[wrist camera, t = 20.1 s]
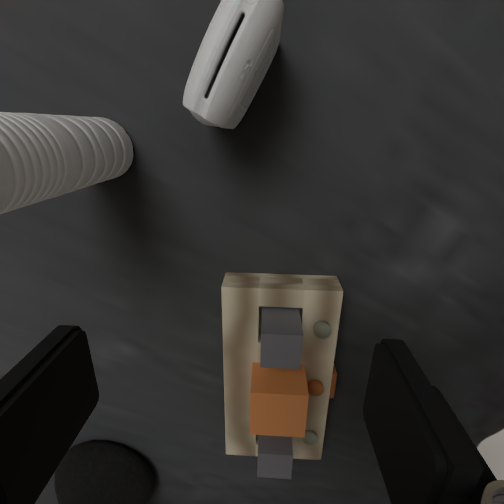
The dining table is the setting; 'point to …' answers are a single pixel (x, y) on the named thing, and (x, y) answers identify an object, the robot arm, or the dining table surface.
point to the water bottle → (57, 155)
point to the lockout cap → (278, 401)
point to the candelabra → (103, 475)
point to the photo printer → (233, 60)
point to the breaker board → (249, 350)
